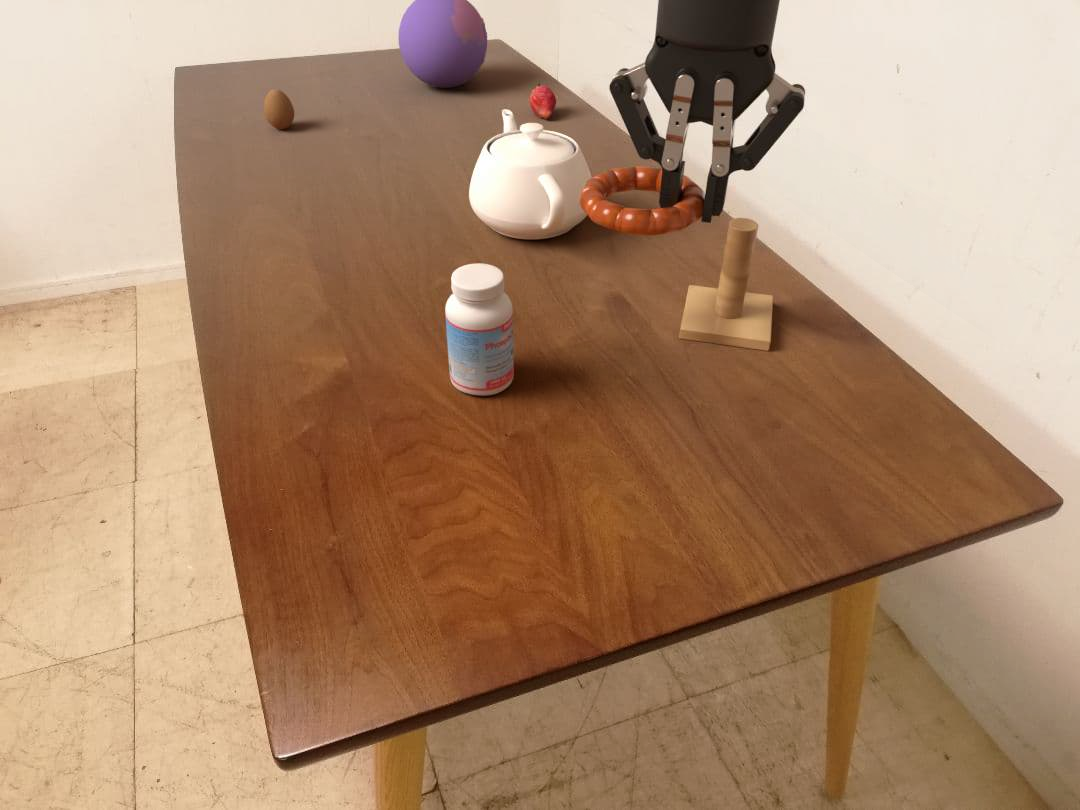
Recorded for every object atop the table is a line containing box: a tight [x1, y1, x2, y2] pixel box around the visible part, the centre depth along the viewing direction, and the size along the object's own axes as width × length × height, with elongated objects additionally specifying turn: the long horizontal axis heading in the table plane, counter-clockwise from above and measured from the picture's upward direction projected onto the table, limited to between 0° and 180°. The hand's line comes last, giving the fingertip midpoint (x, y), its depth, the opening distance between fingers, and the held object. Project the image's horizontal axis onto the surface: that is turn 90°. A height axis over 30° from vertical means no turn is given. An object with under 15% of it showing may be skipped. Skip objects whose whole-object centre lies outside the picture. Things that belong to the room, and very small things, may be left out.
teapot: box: [468, 108, 593, 240], centre depth 101 cm, size 25×16×12 cm, turn 16°
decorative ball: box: [398, 0, 488, 89], centre depth 139 cm, size 15×15×15 cm
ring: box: [579, 165, 705, 237], centre depth 61 cm, size 9×9×2 cm
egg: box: [263, 88, 295, 130], centre depth 126 cm, size 4×4×6 cm
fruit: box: [529, 80, 557, 120], centre depth 131 cm, size 4×6×5 cm
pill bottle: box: [444, 262, 515, 397], centre depth 75 cm, size 6×6×11 cm
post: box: [678, 217, 774, 352], centre depth 83 cm, size 9×9×11 cm
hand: (689, 214), depth 61 cm, fingers closed on ring, 2 cm apart
